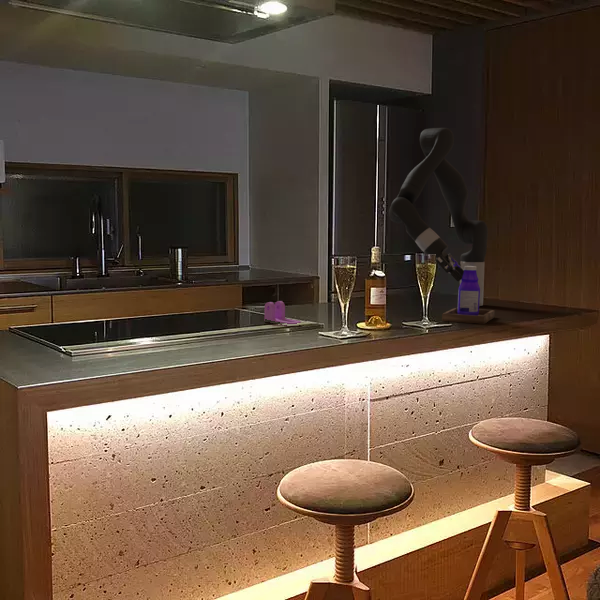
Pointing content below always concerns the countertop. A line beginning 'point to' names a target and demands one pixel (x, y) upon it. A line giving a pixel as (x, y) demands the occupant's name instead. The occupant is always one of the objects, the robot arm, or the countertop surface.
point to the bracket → (277, 313)
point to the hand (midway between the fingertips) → (463, 278)
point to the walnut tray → (468, 316)
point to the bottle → (469, 292)
